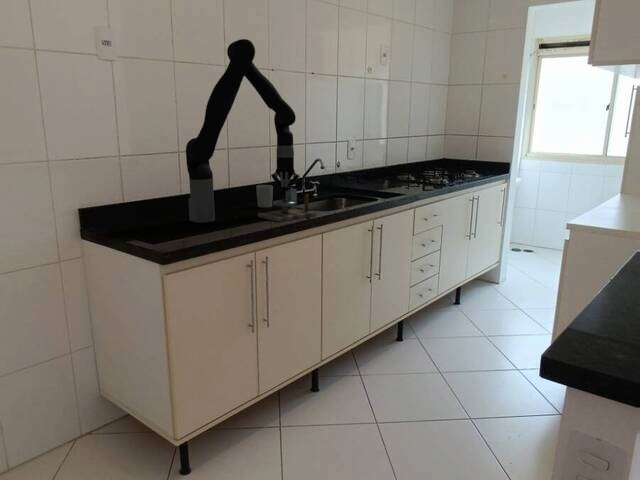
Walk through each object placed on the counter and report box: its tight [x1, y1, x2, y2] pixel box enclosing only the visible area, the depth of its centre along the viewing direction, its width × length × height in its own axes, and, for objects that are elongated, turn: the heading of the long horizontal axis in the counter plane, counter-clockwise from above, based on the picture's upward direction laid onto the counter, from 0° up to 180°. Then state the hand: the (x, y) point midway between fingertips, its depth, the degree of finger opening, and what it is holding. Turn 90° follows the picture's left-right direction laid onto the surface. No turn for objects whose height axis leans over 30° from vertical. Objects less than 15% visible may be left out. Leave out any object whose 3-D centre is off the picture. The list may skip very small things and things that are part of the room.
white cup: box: [255, 184, 274, 209], centre depth 237 cm, size 8×8×10 cm
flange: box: [272, 188, 298, 207], centre depth 213 cm, size 18×10×5 cm, turn 165°
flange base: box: [257, 193, 317, 222], centre depth 211 cm, size 20×15×9 cm
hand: (285, 195), depth 220 cm, fingers closed
